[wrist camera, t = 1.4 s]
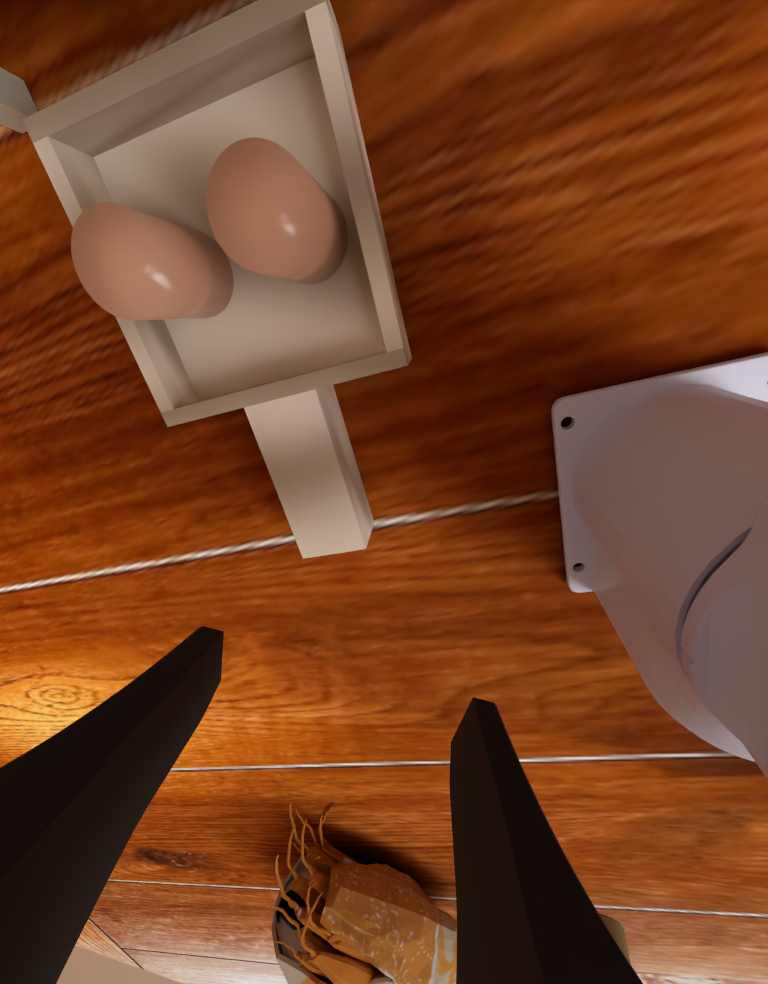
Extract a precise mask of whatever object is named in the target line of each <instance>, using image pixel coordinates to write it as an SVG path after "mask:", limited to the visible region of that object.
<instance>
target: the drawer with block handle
mask: <svg viewBox="0 0 768 984" xmlns="http://www.w3.org/2000/svg"><path fill="white" fill-rule="evenodd" d="M22 121H23V123H24V125H25V127H26V130H27V132H28V134H29V136H30V138H31V140H32V142H33V144H34V146H35V149H36V151H37V153H38V155H39V157H40V159H41V161H42V163H43V165H44V168H45V170H46V172H47V174H48V176H49V178H50V180H51V182H52V184H53V187H54V189H55V191H56V193H57V195H58V197H59V199H60V201H61V203H62V205H63V208H64V210H65V212H66V214H67V216H68V218H69V220H70V222H71V224H72V227H74V225H75V222H76V220H77V218H78V217H79V215H80V214H81V213H82V212H83V211H84V210H85V209H86V208H88V207H89V206H91V205H93V204H97V203H101V202H112V203H116V204H120V205H123V206H126V207H129V208H132V209H135V210H138V211H141V212H144V213H147V214H150V215H153V216H156V217H159V218H162V219H165V220H168V221H171V222H173V223H176V224H179V225H182V226H185V227H188V228H191V229H194V230H197V231H200V232H203V233H205V234H206V235H208V236H210V237H211V238H212V239H214V240H215V241H216V242H217V243H218V241H217V240H216V238H215V236H214V233H213V231H212V229H211V226H210V222H209V219H208V214H207V206H206V190H207V183H208V179H209V175H210V172H211V169H212V167H213V165H214V163H215V161H216V160H217V158H218V157H219V155H220V154H221V153H222V152H223V151H224V150H225V149H226V148H227V147H228V146H230V145H231V144H233V143H235V142H236V141H239V140H242V139H245V138H251V137H255V138H264V139H268V140H270V141H273V142H275V143H277V144H279V145H280V146H282V147H283V148H285V149H286V150H287V151H288V152H289V153H290V154H291V155H292V156H293V157H294V158H295V159H296V160H297V161H298V162H299V163H300V164H301V165H302V166H303V167H304V168H305V170H306V171H307V172H308V173H309V174H310V175H311V176H312V177H313V178H314V179H315V180H316V181H317V182H318V183H319V184H320V185H321V187H322V188H323V189H324V190H325V191H326V192H327V193H328V194H329V195H330V196H331V197H332V198H333V199H334V200H335V202H336V203H337V204H338V206H339V207H340V209H341V211H342V213H343V215H344V218H345V221H346V225H347V232H348V244H347V250H346V254H345V257H344V260H343V262H342V264H341V266H340V267H339V269H338V270H337V271H336V272H335V273H334V274H333V275H332V276H331V277H330V278H328V279H327V280H325V281H323V282H320V283H316V284H303V283H299V282H295V281H290V280H286V279H282V278H277V277H273V276H269V275H265V274H260V273H256V272H252V271H250V270H247V269H245V268H243V267H241V266H240V265H238V264H237V263H235V262H234V261H233V260H232V259H231V258H230V257H229V256H228V255H227V254H226V253H225V254H226V256H227V257H228V260H229V262H230V265H231V268H232V272H233V280H234V285H233V293H232V297H231V299H230V302H229V303H228V305H227V307H226V308H225V309H224V310H223V311H222V312H221V313H219V314H218V315H216V316H214V317H210V318H200V319H165V320H126V319H122V318H119V317H116V316H115V317H116V319H117V321H118V324H119V326H120V328H121V330H122V332H123V334H124V336H125V338H126V340H127V342H128V345H129V347H130V349H131V351H132V353H133V355H134V357H135V359H136V361H137V364H138V366H139V368H140V370H141V372H142V374H143V376H144V378H145V380H146V383H147V385H148V387H149V389H150V391H151V393H152V395H153V397H154V399H155V401H156V404H157V406H158V408H159V410H160V412H161V414H162V416H163V418H164V420H165V423H166V425H167V427H170V426H174V425H178V424H182V423H185V422H189V421H193V420H197V419H201V418H205V417H209V416H213V415H217V414H221V413H225V412H228V411H232V410H236V409H240V408H244V409H245V412H246V415H247V417H248V420H249V422H250V425H251V427H252V430H253V432H254V435H255V438H256V440H257V443H258V445H259V448H260V450H261V453H262V455H263V458H264V460H265V463H266V466H267V468H268V471H269V473H270V476H271V478H272V481H273V483H274V486H275V489H276V491H277V494H278V496H279V499H280V501H281V504H282V506H283V509H284V512H285V514H286V517H287V519H288V522H289V524H290V527H291V529H292V532H293V534H294V537H295V540H296V542H297V545H298V547H299V550H300V552H301V555H302V557H303V559H304V558H310V557H317V556H323V555H329V554H336V553H342V552H349V551H355V550H362V549H366V547H367V544H368V541H369V538H370V535H371V531H372V528H373V525H374V520H373V516H372V513H371V510H370V506H369V503H368V500H367V496H366V493H365V490H364V486H363V483H362V480H361V476H360V473H359V470H358V466H357V463H356V459H355V456H354V453H353V449H352V446H351V443H350V439H349V436H348V433H347V429H346V426H345V423H344V419H343V416H342V413H341V409H340V406H339V403H338V399H337V396H336V393H335V389H334V386H333V385H334V384H338V383H342V382H346V381H350V380H354V379H357V378H361V377H365V376H369V375H373V374H377V373H381V372H385V371H389V370H393V369H397V368H400V367H404V366H408V364H409V363H410V361H411V360H412V357H411V352H410V348H409V343H408V339H407V334H406V330H405V325H404V321H403V316H402V312H401V307H400V302H399V298H398V293H397V289H396V284H395V280H394V275H393V271H392V266H391V262H390V257H389V253H388V248H387V243H386V239H385V234H384V230H383V225H382V221H381V216H380V212H379V207H378V203H377V198H376V194H375V189H374V184H373V180H372V175H371V171H370V166H369V162H368V157H367V153H366V148H365V144H364V139H363V135H362V130H361V125H360V121H359V116H358V112H357V107H356V103H355V98H354V94H353V89H352V85H351V80H350V76H349V71H348V66H347V62H346V57H345V53H344V48H343V44H342V39H341V35H340V30H339V26H338V24H337V21H336V18H335V15H334V12H333V9H332V6H331V4H330V1H329V0H257V1H255V2H253V3H251V4H249V5H247V6H245V7H243V8H241V9H239V10H237V11H235V12H233V13H231V14H229V15H227V16H225V17H223V18H221V19H219V20H217V21H215V22H213V23H211V24H209V25H207V26H206V27H204V28H202V29H200V30H198V31H196V32H194V33H192V34H190V35H188V36H186V37H184V38H182V39H180V40H178V41H176V42H174V43H172V44H170V45H168V46H166V47H164V48H162V49H160V50H158V51H156V52H154V53H152V54H150V55H148V56H146V57H144V58H142V59H141V60H139V61H137V62H135V63H133V64H131V65H129V66H127V67H125V68H123V69H121V70H119V71H117V72H115V73H113V74H111V75H109V76H107V77H105V78H103V79H101V80H99V81H97V82H95V83H93V84H91V85H89V86H87V87H85V88H83V89H81V90H79V91H78V92H76V93H74V94H72V95H70V96H68V97H66V98H64V99H62V100H60V101H58V102H56V103H54V104H52V105H50V106H48V107H46V108H44V109H42V110H40V111H38V112H36V113H34V114H32V115H30V116H28V117H26V118H24V119H22ZM218 244H219V243H218ZM220 247H221V246H220ZM223 251H224V250H223Z"/></svg>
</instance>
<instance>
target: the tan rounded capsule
mask: <svg viewBox="0 0 768 984" xmlns="http://www.w3.org/2000/svg"><path fill="white" fill-rule="evenodd" d="M206 206H207V214H208V219H209V222H210V226H211V229H212V231H213V233H214V236H215V238H216V240H217V241H218V243H219V245H220V246H221V248H222V249H223V250H224V252H225V253H226V254H227V255H228V256H229V257H230V258H231V259H232V260H233V261H234V262H235V263H237V264H238V265H240V266H241V267H243V268H245V269H247V270H250V271H252V272H256V273H260V274H265V275H269V276H273V277H277V278H282V279H286V280H290V281H295V282H299V283H303V284H316V283H320V282H323V281H325V280H327V279H328V278H330V277H331V276H332V275H333V274H334V273H335V272H336V271H337V270H338V269H339V267H340V266H341V264H342V262H343V260H344V257H345V254H346V250H347V244H348V232H347V225H346V221H345V218H344V215H343V213H342V211H341V209H340V207H339V206H338V204H337V203H336V202H335V200H334V199H333V198H332V197H331V196H330V195H329V194H328V193H327V192H326V191H325V190H324V189H323V188H322V187H321V185H320V184H319V183H318V182H317V181H316V180H315V179H314V178H313V177H312V176H311V175H310V174H309V173H308V172H307V171H306V170H305V168H304V167H303V166H302V165H301V164H300V163H299V162H298V161H297V160H296V159H295V158H294V157H293V156H292V155H291V154H290V153H289V152H288V151H287V150H286V149H285V148H283V147H282V146H280V145H279V144H277V143H275V142H273V141H270V140H268V139H264V138H255V137H251V138H245V139H242V140H239V141H236V142H235V143H233V144H231V145H230V146H228V147H227V148H226V149H225V150H224V151H223V152H222V153H221V154H220V155H219V157H218V158H217V160H216V161H215V163H214V165H213V167H212V169H211V172H210V175H209V179H208V183H207V190H206Z"/></svg>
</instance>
